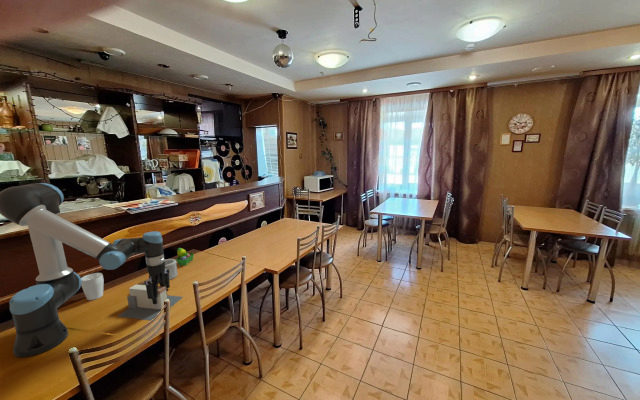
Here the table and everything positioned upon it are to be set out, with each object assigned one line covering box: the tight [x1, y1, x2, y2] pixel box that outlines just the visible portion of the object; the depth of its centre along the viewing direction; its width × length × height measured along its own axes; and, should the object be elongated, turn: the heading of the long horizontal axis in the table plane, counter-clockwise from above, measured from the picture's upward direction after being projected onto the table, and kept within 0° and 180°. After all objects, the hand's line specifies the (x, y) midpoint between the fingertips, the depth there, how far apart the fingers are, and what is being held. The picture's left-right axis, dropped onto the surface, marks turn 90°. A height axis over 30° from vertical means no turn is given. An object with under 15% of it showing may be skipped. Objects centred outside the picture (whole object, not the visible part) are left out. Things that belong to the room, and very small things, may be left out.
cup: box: [80, 272, 105, 301], centre depth 135 cm, size 9×9×12 cm
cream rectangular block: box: [126, 283, 151, 309], centre depth 127 cm, size 6×12×10 cm, turn 81°
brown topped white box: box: [150, 285, 168, 309], centre depth 126 cm, size 4×6×10 cm
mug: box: [164, 258, 178, 281], centre depth 157 cm, size 14×11×10 cm
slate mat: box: [116, 294, 184, 322], centre depth 128 cm, size 20×20×1 cm
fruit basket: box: [175, 247, 195, 266], centre depth 178 cm, size 11×9×11 cm
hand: (160, 305), depth 127 cm, fingers closed on brown topped white box, 4 cm apart
